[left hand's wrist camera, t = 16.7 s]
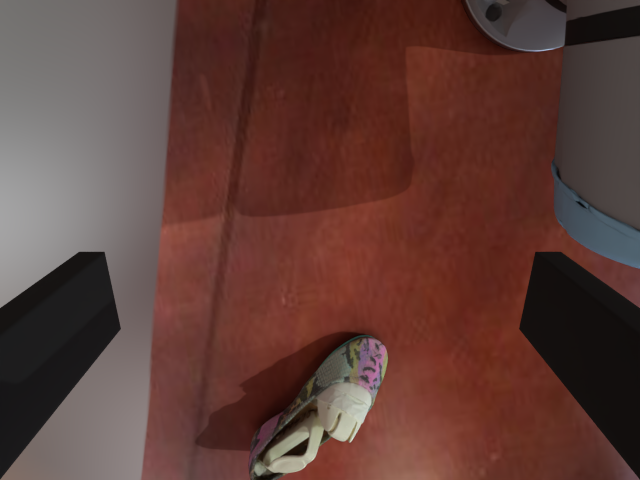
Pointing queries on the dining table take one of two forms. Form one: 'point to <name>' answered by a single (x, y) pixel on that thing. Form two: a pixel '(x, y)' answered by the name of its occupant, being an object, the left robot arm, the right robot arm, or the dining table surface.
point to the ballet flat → (321, 409)
